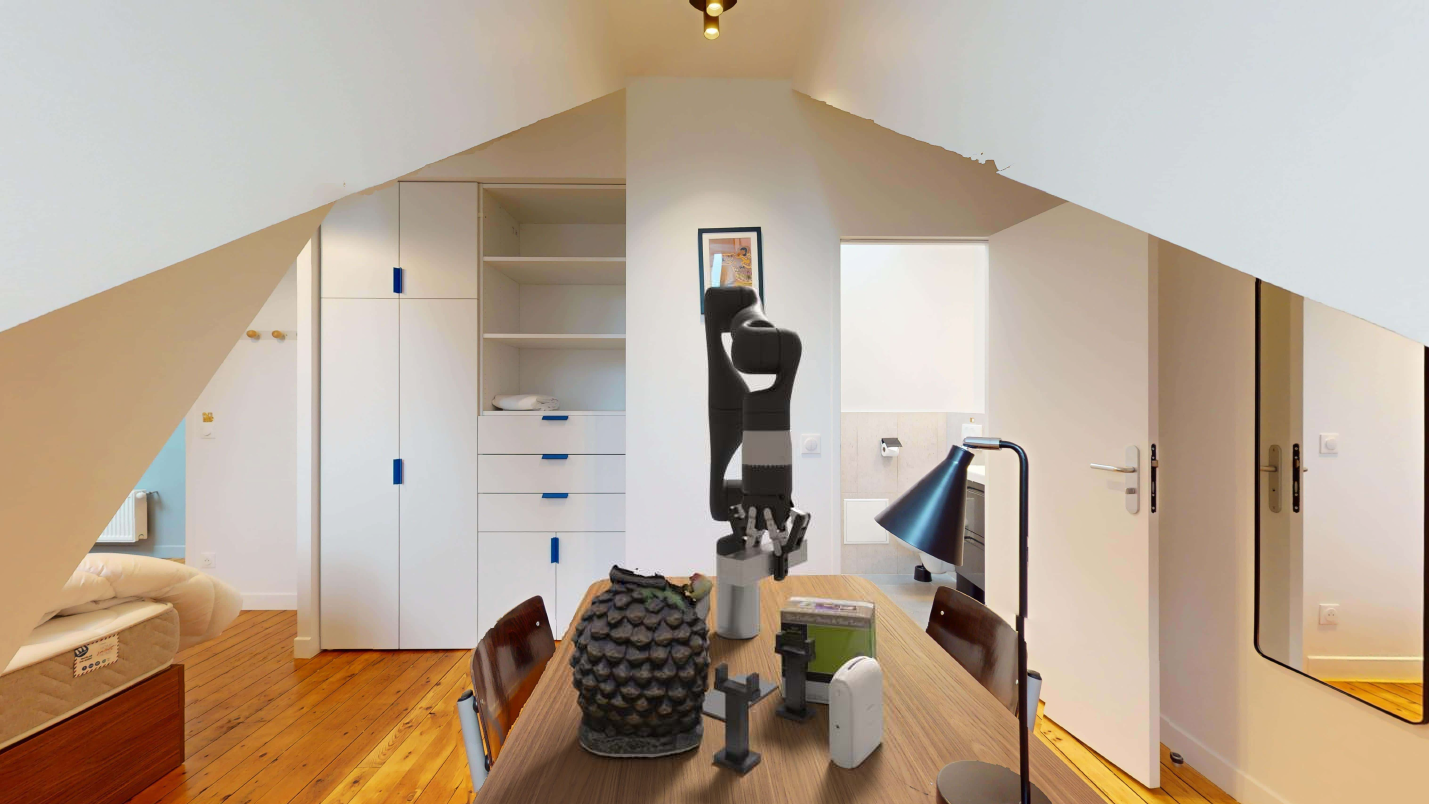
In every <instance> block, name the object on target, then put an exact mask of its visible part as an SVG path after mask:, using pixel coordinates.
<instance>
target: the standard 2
mask: <svg viewBox="0 0 1429 804" xmlns="http://www.w3.org/2000/svg"><path fill="white" fill-rule="evenodd" d="M774 635H775V646H774V654H777V655H780V656H781V655H784V656H785V698H784V699H785V701H784V702H783V703H781V704H780V705H779V706H777V707H776V708H775V712H774V714H775V715H776V716H779V717H783V718H785V719H789V720H791V721H795V722H798V723H800V724H803V725H804V724H806V723H807V722H808V721H809V720H810V719H812V718H813V717H814V716H815V715H816V714H817V708H816V707H813V706H810V705H807V703H806V702H807V701H806V670H805V661H806V662H809V663H811V662H812V661H814V660H815V659H816V652H815V639H814V638H809V639H808V640H806V641H804V649H803V648H799V647H795V646H791V645H787V644H786V631H781V630H780V631H779V632H777V633H775V634H774Z"/></svg>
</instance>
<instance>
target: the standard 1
mask: <svg viewBox="0 0 1429 804" xmlns="http://www.w3.org/2000/svg"><path fill="white" fill-rule="evenodd" d="M748 675H749V676H748V677H746V684H743V683H739V682H736V681H733V680H730V679H731V678H730V679H729V664H728V663H725V662H722V663H721V664H719V665H716V666H715V667H714V681H713V689H714V690H717V691H720V692H723V693H725V721H724V724H725V725H724V728H725V729H724V731H725V734H724V737H725V739H724V740H725V741H724V742H725V743H724V744H725V746H724V747H722V748H720V750H718V751H717V752H716V753H714V754H713V762H715V763H717V764H719V765H721V766H724V767H726V768H728V769H731V770H733V771H735V772H737V773H740V774H742V775H745V774H746V773H747V772H749V771H750V770H751V769H752V768H754V767H755V766H756V765H757V764H759V762H760V761H761V760H762V756H761V755H762V754H761V753H759V752H756V751H753V750H751V749H750V730H749V729H750V728H749V727H750V721H749V720H750V717H749V716H750V714H749V712H750V710H749V709H750V707H749V702H752V703H753V702H754V701H756V700H757V699H758V698H760V697H761V689H759V679H760V673H758V672H753V673H751V674H748Z"/></svg>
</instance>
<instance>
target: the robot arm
mask: <svg viewBox="0 0 1429 804" xmlns="http://www.w3.org/2000/svg"><path fill="white" fill-rule="evenodd" d="M703 313H704V314H703V318H704V319H703V320H704V327H705V339H706V340H705V341H706V342H705V343H706V353H707V378H708V379H707V380H708V381H707V385H708V386H707V387H708V389H707V390H708V391H707V392H708V393H707V394H708V395H707V406H708V407H707V411H708V414H707V415H708V429H709V446H710V447H709V448H710V449H709V450H710V453H709V454H710V463H709V464H710V466H709V467H710V469H709V501H708V502H709V512H710V515H711V516H710V517H711V518H712V520H714V521H716V522H723V523H724V522H725V523H726V522H728V523H729V525H730V527H731V530H732V533H730V534H728V535H723V536H722V537H719V538H718V539H717V541H716V543H715V544H716V547H715V549H716V550H715V551H716V552H715V556H716V557H715V559H716V562H715V563H716V583H715V584H716V633H717V635H718V636H720V637H723V638H726V639H731V640H743V639H750V638H753V637H754V638H755V637H756V636H757V635H758V634H759V631H760V630H761V586H760V585H759V581H757V582H754V583H752V584H749V585H747V586H744V587H740V586H735V585H730V584H726V583H722V557H724V556H727V555H730V554H733V553H736V552H740V551H743V550H746V549H749V548H752V547H755V546H759V545H762V543H763V542H762V541H763V536H764V535H765V533H766V531H767V532H768V536H769V539H770V540H771V541H772V543H773V548H774V553H775V554H776V555H774V575H773V580H774V581H775V582H783V580H785V579H786V577H787V576H788V574H789V569H788V555H789V553H791V552H794V551H796V550H799V549H800V547H801V544H802V542H803V539H804V538H805V535H806V534H807V533H806V532H807V529H808V527H809V524H810V521H811V518H812V515H811V513H810V512H808V511H805V512H803V511H801V510H799V509H798V508H796V507H795V505H794V502H793V500H792V493H793V443H792V436H791V401H792V394H793V388H794V384H795V379H796V376H797V373H798V369H799V365H800V362H801V358H802V353H803V352H802V351H803V345H802V340H801V338H800V336H799V334H798V333H797V332H796V331H795V330H793V329H792V328H789V327H775V325H774V323H772V321H771V320H770V319H769V318H768V317H767V315H766V313H765V308H764V305H763V301H762V299H761V296H760V294H759V292H758V291H757V289H755V288H754V287H752V286H751V285H722V286H721V285H719V286H710V287H708V288H707V289H706V290H705V293H704V298H703ZM727 333H729V334H730V337H731V345H730V347H731V348H730V356H731V357H730V356H729V354H728V352H727V351H726V349H725V345H724V343H723V339H722V334H727ZM739 372H740V373H741V374H744V375H769V376H770V375H775V379H774V382H773V384H772V385H771V386H769V387H767V388H763V389H758V390H753V391H751V389H750V388H749V386H748V384H747V383H746V381H745V379H744V378H743V377H742V375H741V374H740V373H739ZM740 446H741V479H738V478H737V479H730V478H729V479H727V478H725V475H726V472H727V470H728V469H727V468H728V466H729V464H730V462H731V461H732V458H733V457H734V455H735V454H736V451H738V449H739V447H740ZM790 518H791V519H790ZM789 519H790V524H791V529H790V531H789V528H788V524H787V522H788V520H789ZM788 536H789V537H788Z"/></svg>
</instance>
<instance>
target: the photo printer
mask: <svg viewBox="0 0 1429 804" xmlns="http://www.w3.org/2000/svg"><path fill="white" fill-rule="evenodd" d="M883 697H884V695H883V670H882V668H881V665H880V664H879V662H878V661H876V660H875V659H873V658H869V657H866V656H860V657H856V658H854V659H852V660H850V661H848V662H847V663H846V664H844V665H843V666H842V667H841V668H840V669H839V670H838V671H837V673H836V674H835V675H834V677H833V679H832V680H831V683H830V686H829V704H828V705H829V706H828V712H829V718H828V719H829V757H830V759H831V760H832V761H833V763H834V764H835V765H837V766H838V767H840V768H843V769H852V768H853V769H855V768H856V767H858V766H859V765H861V763H862V762H863V761H865V760H866V759H867V758H868V757H869V755H871V754H872V753H873V752H874V751H875V750H876V749H877V748H878V746H879V745H880V744H881V743H882V740H883V737H884V711H883V710H884V709H883V708H884V707H883V706H884V704H883V702H884V699H883Z"/></svg>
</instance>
